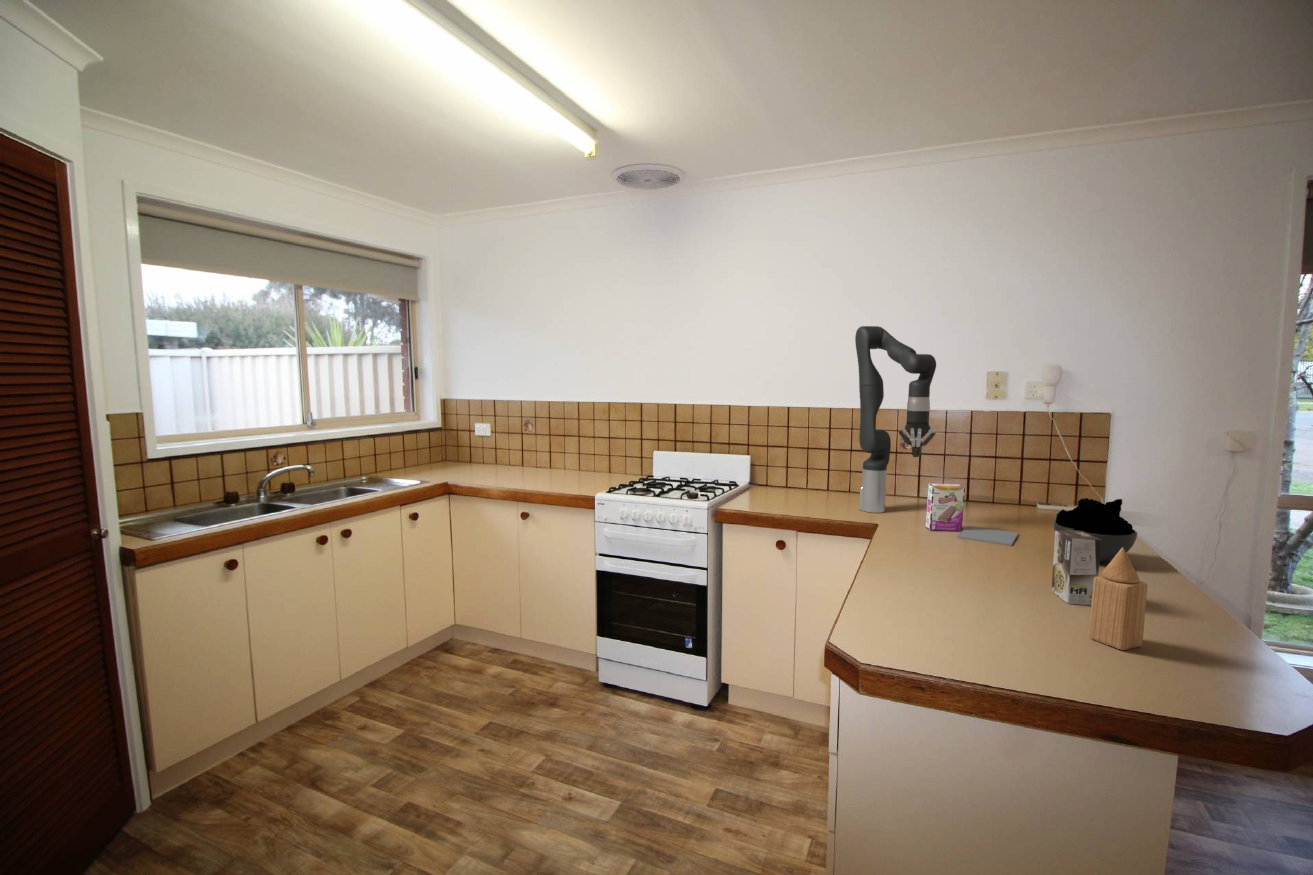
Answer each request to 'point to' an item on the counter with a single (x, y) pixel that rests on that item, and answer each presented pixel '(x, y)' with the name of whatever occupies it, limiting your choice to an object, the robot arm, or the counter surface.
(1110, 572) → the decorative item
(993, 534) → the mat
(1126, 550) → the bowl of black rocks
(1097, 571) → the coffee box
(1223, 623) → the counter surface
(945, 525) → the candy bar box
